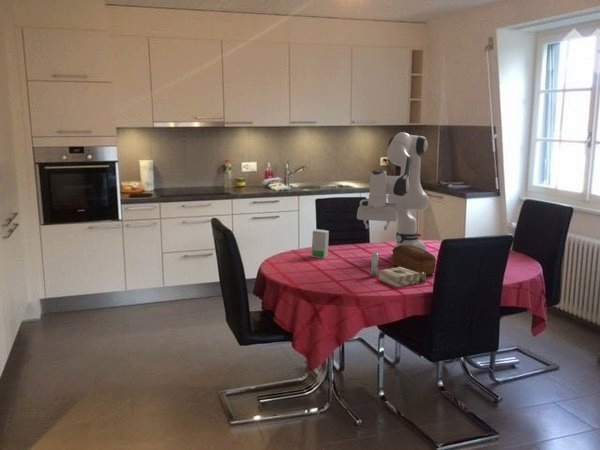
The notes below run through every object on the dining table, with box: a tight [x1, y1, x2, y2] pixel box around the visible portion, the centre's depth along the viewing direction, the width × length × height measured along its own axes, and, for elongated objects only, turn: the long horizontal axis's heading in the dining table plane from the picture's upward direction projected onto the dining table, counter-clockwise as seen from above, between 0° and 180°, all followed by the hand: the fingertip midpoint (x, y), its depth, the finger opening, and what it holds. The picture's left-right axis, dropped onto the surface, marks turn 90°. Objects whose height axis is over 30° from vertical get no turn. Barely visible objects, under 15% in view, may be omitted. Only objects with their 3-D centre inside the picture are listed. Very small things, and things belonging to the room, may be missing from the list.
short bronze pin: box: [419, 272, 427, 283], centre depth 289 cm, size 4×4×4 cm
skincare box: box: [311, 228, 330, 259], centre depth 336 cm, size 8×7×16 cm
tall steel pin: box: [370, 252, 380, 278], centre depth 298 cm, size 4×4×12 cm
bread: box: [391, 245, 437, 276], centre depth 311 cm, size 14×28×12 cm, turn 21°
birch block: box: [378, 266, 420, 288], centre depth 289 cm, size 14×14×5 cm
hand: (376, 229), depth 294 cm, fingers open, 8 cm apart
